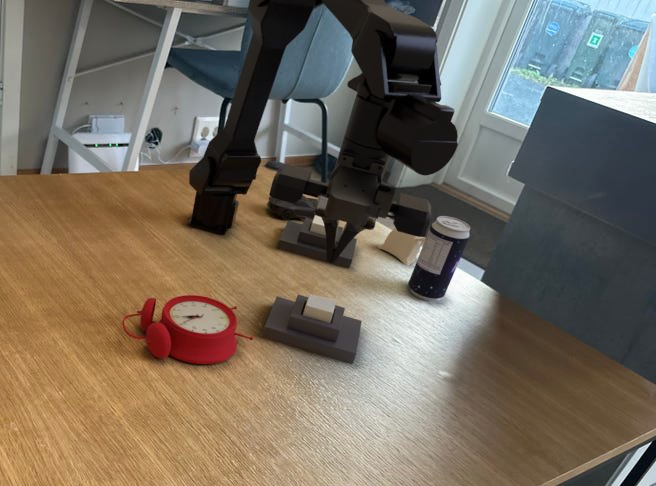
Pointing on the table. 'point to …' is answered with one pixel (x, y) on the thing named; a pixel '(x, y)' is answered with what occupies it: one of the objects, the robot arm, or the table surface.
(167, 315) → the alarm clock
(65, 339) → the table surface
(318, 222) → the back key
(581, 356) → the table surface
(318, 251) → the back keypad
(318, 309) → the front key
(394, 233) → the decorative ornament
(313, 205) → the toy car
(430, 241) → the beverage can
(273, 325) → the front keypad
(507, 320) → the table surface
